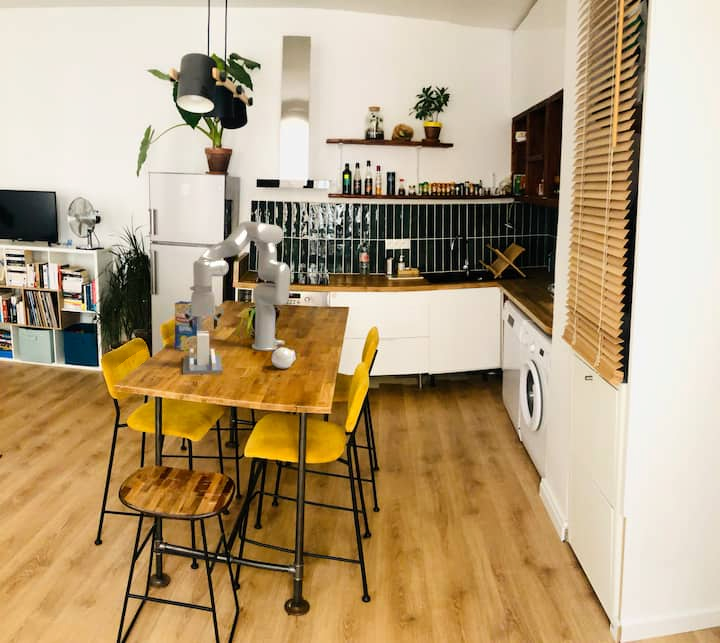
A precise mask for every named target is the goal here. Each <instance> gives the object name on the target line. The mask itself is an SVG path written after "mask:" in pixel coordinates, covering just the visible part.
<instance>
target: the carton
mask: <svg viewBox="0 0 720 643" xmlns="http://www.w3.org/2000/svg"><path fill="white" fill-rule="evenodd" d="M195 352H196V355H197V365H209V355H210V331H209V330H202V331H197V338H196V351H195Z"/></svg>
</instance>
